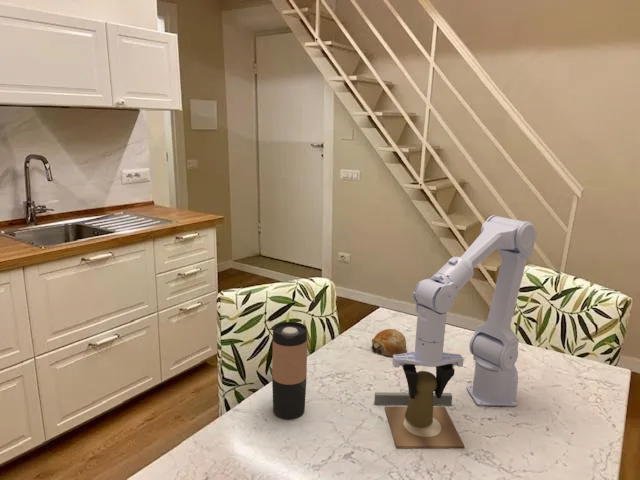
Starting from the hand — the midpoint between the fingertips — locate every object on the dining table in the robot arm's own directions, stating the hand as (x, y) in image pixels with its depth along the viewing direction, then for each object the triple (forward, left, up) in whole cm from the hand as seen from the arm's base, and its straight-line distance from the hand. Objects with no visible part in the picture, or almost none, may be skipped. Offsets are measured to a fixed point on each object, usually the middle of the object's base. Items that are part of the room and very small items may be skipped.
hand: (424, 396), depth 101 cm
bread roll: (+1, -37, -8) cm, 38 cm away
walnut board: (0, 0, -8) cm, 8 cm away
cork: (0, -2, -6) cm, 7 cm away
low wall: (0, -9, -8) cm, 12 cm away
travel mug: (+29, -6, -8) cm, 31 cm away
